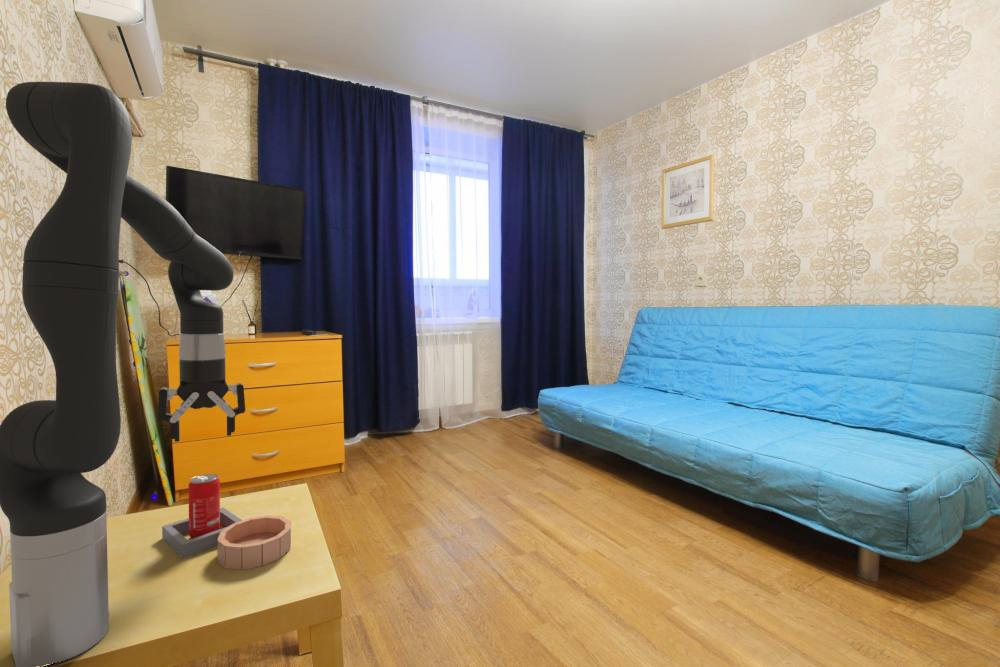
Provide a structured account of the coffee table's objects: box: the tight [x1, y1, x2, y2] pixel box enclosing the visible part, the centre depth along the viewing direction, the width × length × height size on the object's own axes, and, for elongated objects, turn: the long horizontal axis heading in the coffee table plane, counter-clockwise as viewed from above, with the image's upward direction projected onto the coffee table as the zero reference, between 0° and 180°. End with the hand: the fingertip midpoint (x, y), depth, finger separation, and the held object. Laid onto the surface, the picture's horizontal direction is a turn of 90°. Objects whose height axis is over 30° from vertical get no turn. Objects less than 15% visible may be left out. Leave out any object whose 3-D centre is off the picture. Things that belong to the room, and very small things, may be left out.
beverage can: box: [188, 473, 221, 539], centre depth 89 cm, size 5×5×12 cm
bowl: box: [216, 514, 292, 570], centre depth 85 cm, size 12×12×4 cm
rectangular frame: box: [161, 507, 242, 559], centre depth 89 cm, size 11×11×2 cm
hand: (203, 437), depth 88 cm, fingers open, 8 cm apart
